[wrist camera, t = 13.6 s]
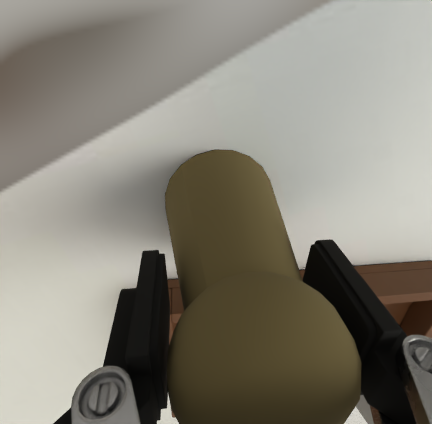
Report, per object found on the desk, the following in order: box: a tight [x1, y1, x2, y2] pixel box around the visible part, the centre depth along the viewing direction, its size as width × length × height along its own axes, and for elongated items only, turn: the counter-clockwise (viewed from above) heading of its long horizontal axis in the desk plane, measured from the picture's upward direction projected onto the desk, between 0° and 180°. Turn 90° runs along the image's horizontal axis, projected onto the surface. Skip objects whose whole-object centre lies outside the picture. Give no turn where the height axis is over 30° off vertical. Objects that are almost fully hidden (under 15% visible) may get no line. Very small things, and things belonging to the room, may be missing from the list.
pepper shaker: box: [165, 150, 361, 424], centre depth 11 cm, size 6×6×11 cm
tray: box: [167, 261, 432, 417], centre depth 21 cm, size 20×13×3 cm, turn 89°
